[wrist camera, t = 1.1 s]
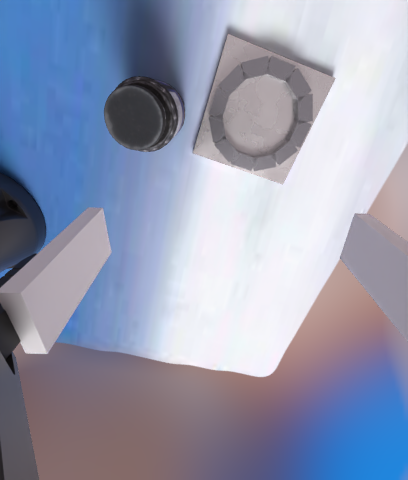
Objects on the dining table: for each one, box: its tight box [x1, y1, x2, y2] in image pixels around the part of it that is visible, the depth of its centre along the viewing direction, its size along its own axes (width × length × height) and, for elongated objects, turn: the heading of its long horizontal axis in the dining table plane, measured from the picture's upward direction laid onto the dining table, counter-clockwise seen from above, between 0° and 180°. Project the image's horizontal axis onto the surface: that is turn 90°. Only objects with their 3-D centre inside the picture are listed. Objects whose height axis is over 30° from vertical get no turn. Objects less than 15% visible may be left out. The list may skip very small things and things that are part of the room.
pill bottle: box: [104, 76, 185, 152], centre depth 25 cm, size 6×6×11 cm
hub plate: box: [193, 34, 335, 184], centre depth 29 cm, size 12×12×2 cm
